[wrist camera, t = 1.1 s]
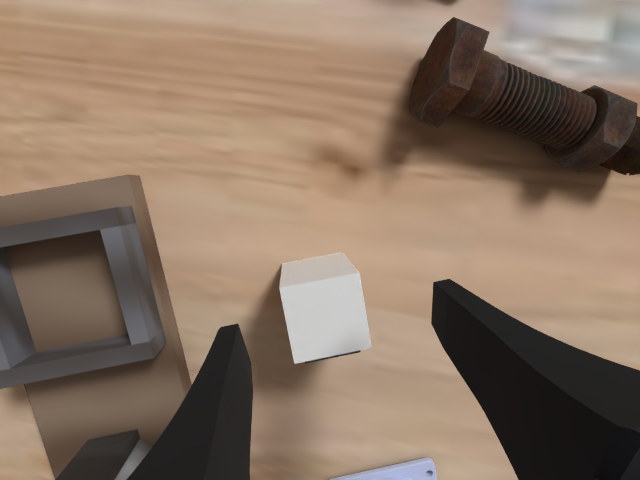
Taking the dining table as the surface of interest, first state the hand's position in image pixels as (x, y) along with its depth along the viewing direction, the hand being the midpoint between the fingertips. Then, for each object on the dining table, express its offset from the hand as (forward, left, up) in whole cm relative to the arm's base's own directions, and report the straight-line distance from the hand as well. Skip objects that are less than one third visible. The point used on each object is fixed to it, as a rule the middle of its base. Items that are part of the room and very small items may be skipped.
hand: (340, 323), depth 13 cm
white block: (-2, 0, -11) cm, 11 cm away
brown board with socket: (-4, +14, -11) cm, 18 cm away
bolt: (+7, -15, -11) cm, 20 cm away
